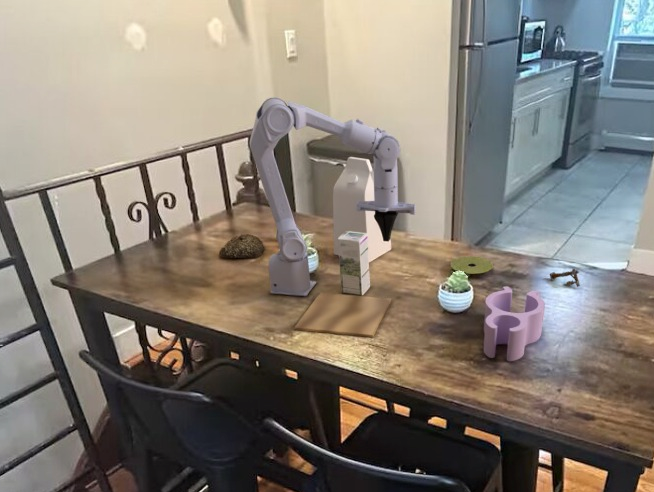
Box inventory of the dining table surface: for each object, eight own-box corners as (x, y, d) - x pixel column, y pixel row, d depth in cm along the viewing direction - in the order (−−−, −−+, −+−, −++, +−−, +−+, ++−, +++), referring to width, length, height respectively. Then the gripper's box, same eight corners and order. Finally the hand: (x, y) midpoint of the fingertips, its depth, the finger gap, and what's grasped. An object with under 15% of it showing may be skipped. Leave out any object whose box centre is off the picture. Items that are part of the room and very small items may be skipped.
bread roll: (260, 260, 167) (257, 243, 164) (216, 260, 167) (213, 243, 165) (269, 243, 178) (267, 227, 175) (228, 243, 178) (225, 227, 176)
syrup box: (370, 287, 151) (368, 231, 144) (362, 296, 147) (359, 240, 139) (350, 284, 153) (346, 229, 145) (340, 293, 148) (336, 237, 140)
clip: (530, 365, 120) (534, 334, 116) (469, 354, 123) (471, 324, 120) (546, 320, 135) (549, 292, 132) (491, 311, 139) (494, 284, 135)
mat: (481, 283, 152) (482, 276, 151) (442, 274, 157) (442, 267, 156) (499, 268, 160) (500, 261, 159) (461, 259, 165) (462, 253, 164)
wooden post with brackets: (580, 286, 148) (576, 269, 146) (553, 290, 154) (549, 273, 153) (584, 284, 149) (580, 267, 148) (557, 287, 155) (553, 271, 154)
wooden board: (294, 329, 133) (294, 327, 133) (320, 294, 148) (320, 292, 148) (372, 337, 130) (372, 334, 129) (391, 300, 145) (391, 298, 144)
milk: (391, 249, 173) (389, 156, 159) (368, 262, 164) (364, 166, 151) (357, 241, 178) (352, 151, 164) (333, 254, 170) (326, 160, 156)
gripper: (351, 188, 141) (354, 243, 149) (412, 192, 139) (412, 247, 146) (360, 180, 147) (362, 233, 154) (417, 183, 144) (417, 237, 152)
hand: (386, 240), depth 151 cm, fingers closed
